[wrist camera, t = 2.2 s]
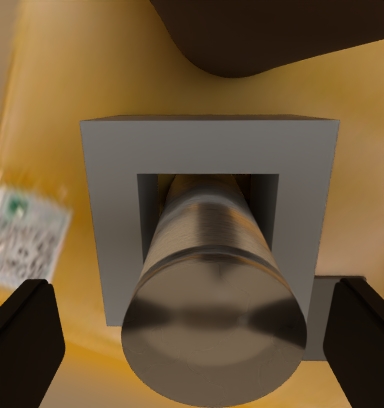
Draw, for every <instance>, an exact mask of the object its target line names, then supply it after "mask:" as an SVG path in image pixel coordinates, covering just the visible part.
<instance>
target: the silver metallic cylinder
mask: <svg viewBox="0 0 384 408" xmlns="http://www.w3.org/2000/svg"><path fill="white" fill-rule="evenodd" d="M121 342H122V347H123V352H124V354H125V357H126V360H127V362H128V363H129V365H130V367H131V369H132V370H133V371H134V373H135V374H136V375H137V376H138V377H139V379H140V380H142V381H143V383H145V384H146V385H147V386H149V387H150V388H151V389H152V390H154V391H155V392H157V393H159V394H160V395H162V396H164V397H166V398H169V399H171V400H174V401H176V402H179V403H183V404H187V405H191V406H197V407H208V408H221V407H230V406H236V405H241V404H245V403H248V402H251V401H254V400H257V399H259V398H261V397H264V396H265V395H267V394H269V393H271V392H273V391H274V390H275V389H277V388H278V387H280V386H281V385H282V384H283V383H284V382H285V381H286V380H288V379H289V378H290V376H291V375H292V374H293V373H294V372H295V370H296V369H297V367H298V365H299V364H300V362H301V360H302V357H303V355H304V352H305V348H306V344H307V326H306V322H305V318H304V315H303V313H302V310H301V308H300V306H299V304H298V302H297V300H296V298H295V296H294V294H293V292H292V290H291V288H290V286H289V284H288V283H287V281H286V280H285V278H284V277H283V275H282V273H281V271H280V269H279V267H278V265H277V263H276V261H275V259H274V257H273V255H272V253H271V251H270V249H269V247H268V245H267V243H266V241H265V239H264V237H263V235H262V233H261V231H260V229H259V227H258V225H257V223H256V221H255V219H254V217H253V214H252V212H251V210H250V208H249V206H248V204H247V202H246V200H245V198H244V196H243V194H242V192H241V190H240V188H239V186H238V184H237V182H236V180H235V178H234V177H233V175H232V174H177V175H176V177H175V178H174V180H173V182H172V184H171V186H170V189H169V192H168V195H167V198H166V201H165V204H164V207H163V210H162V213H161V216H160V219H159V222H158V225H157V228H156V231H155V234H154V237H153V240H152V242H151V245H150V248H149V251H148V254H147V257H146V260H145V263H144V266H143V269H142V272H141V275H140V278H139V281H138V283H137V285H136V287H135V289H134V291H133V294H132V296H131V299H130V302H129V305H128V308H127V311H126V314H125V317H124V320H123V323H122V331H121Z"/></svg>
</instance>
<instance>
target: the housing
mask: <svg viewBox="0 0 384 408" xmlns="http://www.w3.org/2000/svg"><path fill="white" fill-rule="evenodd" d="M339 124H340V120H334V119H325V118H316V117H307V116H298V115H119V116H111V117H104V118H97V119H90V120H83V121H80V129H81V136H82V144H83V152H84V159H85V167H86V174H87V182H88V189H89V197H90V204H91V212H92V219H93V227H94V234H95V242H96V249H97V257H98V264H99V272H100V279H101V287H102V294H103V302H104V309H105V317H106V324H107V326H122V323H123V320H124V317H125V314H126V311H127V308H128V305H129V302H130V299H131V296H132V294H133V291H134V289H135V287H136V285H137V283H138V281H139V278H140V275H141V272H142V269H143V266H144V263H145V260H146V257H147V254H148V251H149V248H150V245H151V242H152V240H153V237H154V234H155V231H156V228H157V225H158V222H159V219H160V214H159V192H158V174H251V189H250V203H249V208H250V210H251V212H252V214H253V217H254V219H255V221H256V223H257V225H258V227H259V229H260V231H261V233H262V235H263V237H264V239H265V241H266V243H267V245H268V247H269V249H270V251H271V253H272V255H273V257H274V259H275V261H276V263H277V265H278V267H279V269H280V271H281V273H282V275H283V277H284V278H285V280H286V281H287V283H288V284H289V286H290V288H291V290H292V292H293V294H294V296H295V298H296V300H297V302H298V304H299V306H300V308H301V310H302V313H303V315H304V318H305V322H306V323H307V317H308V311H309V304H310V298H311V292H312V286H313V280H314V274H315V268H316V262H317V256H318V250H319V244H320V238H321V232H322V226H323V220H324V214H325V208H326V202H327V196H328V190H329V184H330V178H331V172H332V166H333V160H334V154H335V148H336V142H337V136H338V130H339Z"/></svg>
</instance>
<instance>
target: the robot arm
mask: <svg viewBox="0 0 384 408" xmlns="http://www.w3.org/2000/svg"><path fill="white" fill-rule="evenodd" d="M323 352H324V355H325V358H326V359H327V361H328V363H329V365H330V367H331V369H332V371H333V373H334V375H335V376H336V378H337V380H338V382H339V384H340V386H341V388H342V390H343V392H344V393H345V395H346V397H347V399H348V401H349V403H350V405H351V407H352V408H384V300H383V299H382V297H381V296H380V295H379V294H378V293H377V292H376V291H375V290H374V289H373V288H372V287H371V286H370V285H369V284H368V283H367V282H366V281H365V280H364V279H362V278H359V277H357V278H341V279H340V281H339V282H337V283H336V284H335V286H334V291H333V296H332V301H331V306H330V311H329V316H328V321H327V326H326V331H325V336H324V341H323ZM64 354H65V342H64V337H63V332H62V327H61V322H60V317H59V313H58V308H57V303H56V298H55V293H54V288H53V285H52V284H48V281H47V280H45V279H28V280H25V281H24V282H23V283H22V284H21V285H20V286H19V287H18V288H17V289H16V290H15V291H14V293H13V294H12V295H11V296H10V297H9V298H8V299H7V300H6V301H5V302H4V303H3V304H2V305H1V306H0V408H38V407H39V406H40V403H41V402H42V400H43V398H44V396H45V393H46V392H47V390H48V388H49V386H50V384H51V381H52V380H53V378H54V376H55V374H56V372H57V370H58V368H59V366H60V364H61V362H62V360H63V357H64Z"/></svg>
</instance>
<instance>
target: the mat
mask: <svg viewBox="0 0 384 408" xmlns="http://www.w3.org/2000/svg"><path fill="white" fill-rule="evenodd" d="M357 277H358V276H314V280H313V286H312V292H311V298H310V304H309V311H308V317H307V323H306V326H307V344H306V348H305V352H304V355H303V357H302V360H301V361H327V359H326V358H325V355H324V352H323V341H324V336H325V331H326V326H327V321H328V316H329V311H330V306H331V301H332V296H333V291H334V286H335V284H336V283H337V282H339V281H340V279H341V278H357ZM359 278H362V279H364V280H365V281H366V278H365V277H359Z"/></svg>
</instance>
